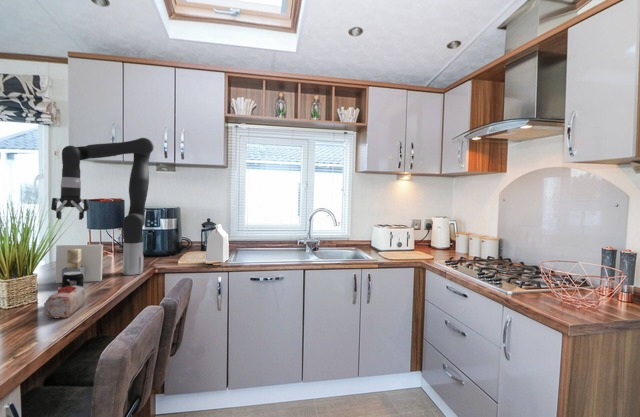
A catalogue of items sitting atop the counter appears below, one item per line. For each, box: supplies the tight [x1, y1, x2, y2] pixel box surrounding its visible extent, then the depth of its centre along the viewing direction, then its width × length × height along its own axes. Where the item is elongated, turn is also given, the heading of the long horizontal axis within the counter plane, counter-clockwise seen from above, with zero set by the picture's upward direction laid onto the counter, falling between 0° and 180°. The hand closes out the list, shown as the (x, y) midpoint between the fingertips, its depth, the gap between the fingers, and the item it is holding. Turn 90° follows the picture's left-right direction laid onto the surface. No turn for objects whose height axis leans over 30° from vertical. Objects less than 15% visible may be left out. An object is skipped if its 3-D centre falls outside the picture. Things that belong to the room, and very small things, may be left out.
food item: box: [43, 286, 86, 319], centre depth 109 cm, size 14×8×10 cm, turn 18°
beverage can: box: [61, 271, 84, 288], centre depth 119 cm, size 7×7×12 cm
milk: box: [205, 224, 230, 262], centre depth 199 cm, size 12×12×26 cm
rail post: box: [67, 249, 81, 269], centre depth 139 cm, size 4×4×11 cm
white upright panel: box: [54, 244, 104, 284], centre depth 141 cm, size 18×11×18 cm, turn 111°
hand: (70, 219), depth 148 cm, fingers open, 8 cm apart
